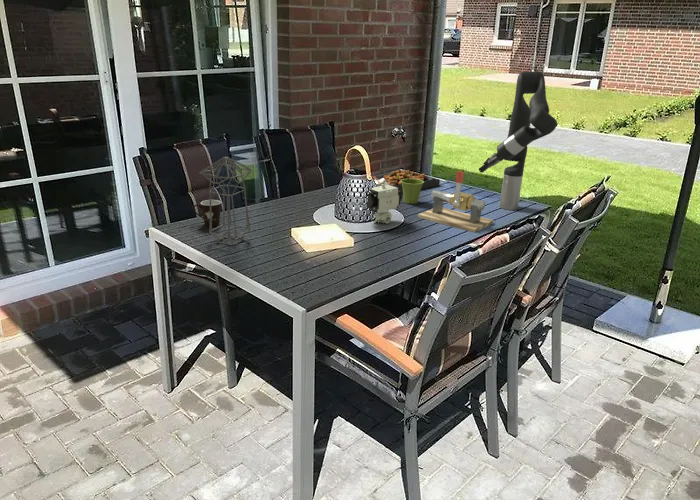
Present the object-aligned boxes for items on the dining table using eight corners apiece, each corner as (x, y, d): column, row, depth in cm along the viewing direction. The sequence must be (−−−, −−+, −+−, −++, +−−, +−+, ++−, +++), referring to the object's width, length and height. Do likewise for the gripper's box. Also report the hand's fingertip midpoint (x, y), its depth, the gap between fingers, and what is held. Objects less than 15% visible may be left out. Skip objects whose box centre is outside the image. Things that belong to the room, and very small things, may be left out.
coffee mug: (226, 223, 245) (224, 201, 241) (213, 228, 237) (212, 206, 234) (205, 219, 249) (203, 197, 245) (192, 224, 242) (190, 202, 238)
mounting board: (437, 209, 275) (438, 206, 274) (493, 223, 257) (493, 220, 257) (418, 217, 262) (418, 214, 261) (474, 232, 244) (475, 229, 244)
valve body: (435, 209, 269) (437, 186, 264) (483, 222, 253) (486, 197, 249) (426, 213, 263) (428, 189, 259) (475, 226, 248) (478, 201, 243)
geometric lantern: (256, 238, 228) (254, 155, 214) (234, 251, 215) (230, 164, 201) (225, 231, 234) (220, 150, 220) (201, 244, 220) (195, 158, 207)
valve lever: (454, 206, 252) (458, 170, 246) (460, 207, 250) (464, 171, 244) (452, 206, 250) (456, 171, 244) (458, 208, 249) (462, 172, 243)
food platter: (381, 198, 292) (382, 179, 289) (352, 188, 310) (352, 170, 306) (439, 187, 319) (440, 169, 315) (409, 178, 337) (410, 161, 333)
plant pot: (425, 201, 287) (427, 180, 283) (415, 206, 278) (417, 185, 274) (405, 197, 293) (407, 177, 289) (395, 202, 284) (396, 181, 280)
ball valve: (372, 228, 245) (374, 189, 239) (361, 222, 251) (362, 185, 245) (402, 221, 255) (405, 184, 249) (390, 216, 262) (393, 180, 255)
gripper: (512, 137, 232) (482, 161, 243) (499, 141, 222) (468, 166, 234) (522, 152, 231) (492, 175, 242) (509, 156, 221) (478, 180, 233)
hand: (480, 170), depth 238 cm, fingers closed
